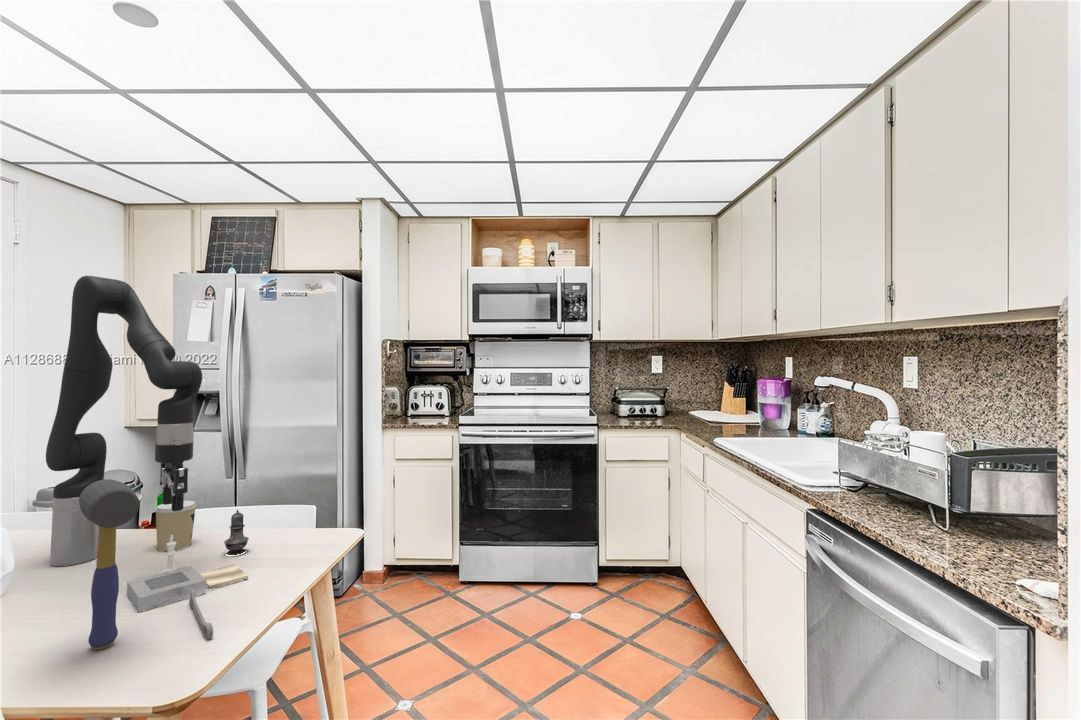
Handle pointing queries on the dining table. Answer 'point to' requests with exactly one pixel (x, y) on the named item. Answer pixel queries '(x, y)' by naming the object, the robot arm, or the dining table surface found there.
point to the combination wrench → (200, 617)
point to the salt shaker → (236, 535)
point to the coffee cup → (175, 525)
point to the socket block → (165, 587)
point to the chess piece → (170, 555)
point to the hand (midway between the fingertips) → (172, 507)
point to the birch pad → (223, 576)
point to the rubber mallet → (106, 552)
